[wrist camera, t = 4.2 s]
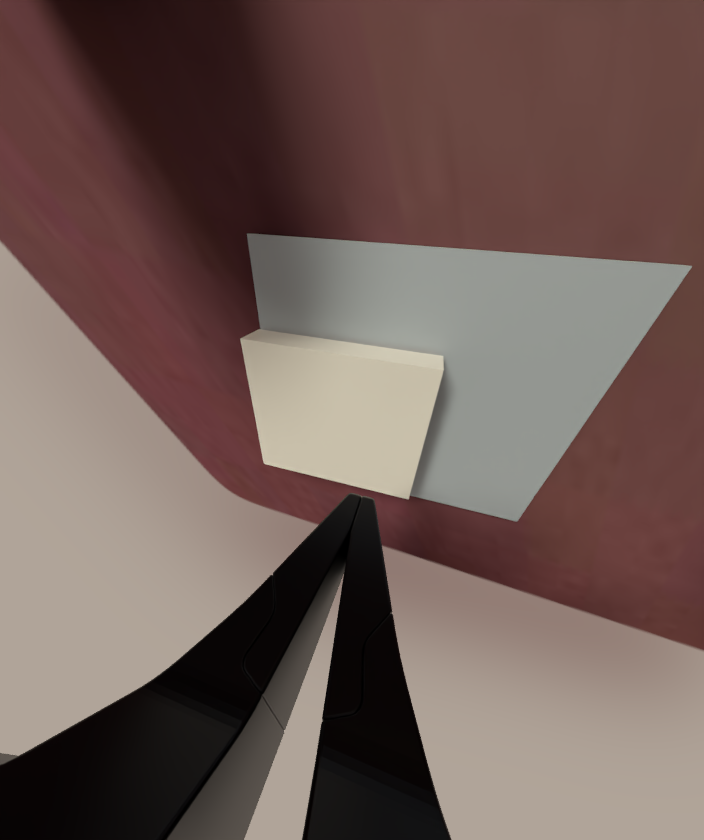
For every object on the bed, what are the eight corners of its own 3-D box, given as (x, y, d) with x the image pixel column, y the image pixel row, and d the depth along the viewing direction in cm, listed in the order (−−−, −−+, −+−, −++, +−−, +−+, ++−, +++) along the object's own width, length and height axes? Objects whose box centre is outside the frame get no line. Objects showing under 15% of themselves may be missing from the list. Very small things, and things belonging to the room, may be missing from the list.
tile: (443, 370, 9) (240, 338, 11) (408, 499, 13) (263, 463, 15) (443, 354, 11) (261, 327, 12) (411, 476, 15) (277, 445, 16)
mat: (681, 265, 8) (691, 266, 8) (515, 515, 15) (517, 521, 14) (252, 233, 10) (246, 233, 10) (282, 459, 17) (279, 463, 17)
